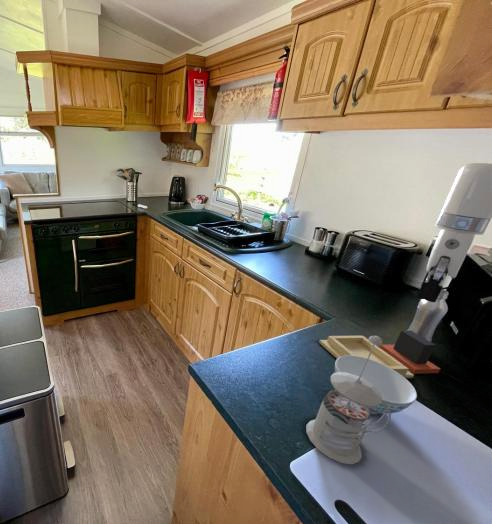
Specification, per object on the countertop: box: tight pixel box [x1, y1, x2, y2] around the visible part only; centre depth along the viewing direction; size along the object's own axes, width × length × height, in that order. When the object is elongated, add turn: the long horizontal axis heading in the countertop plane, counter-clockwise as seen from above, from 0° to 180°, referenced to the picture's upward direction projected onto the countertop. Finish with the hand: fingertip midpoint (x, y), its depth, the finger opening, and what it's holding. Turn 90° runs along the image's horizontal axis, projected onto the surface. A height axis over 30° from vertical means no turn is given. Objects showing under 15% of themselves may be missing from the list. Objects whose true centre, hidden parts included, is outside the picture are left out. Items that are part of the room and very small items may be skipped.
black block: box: [378, 330, 441, 375], centre depth 84 cm, size 8×11×8 cm
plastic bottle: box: [406, 289, 449, 343], centre depth 89 cm, size 6×7×20 cm
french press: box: [305, 335, 392, 465], centre depth 54 cm, size 10×12×25 cm
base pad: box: [318, 335, 415, 379], centre depth 84 cm, size 16×16×3 cm
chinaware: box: [334, 355, 418, 415], centre depth 67 cm, size 15×15×8 cm
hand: (427, 294), depth 68 cm, fingers open, 9 cm apart
